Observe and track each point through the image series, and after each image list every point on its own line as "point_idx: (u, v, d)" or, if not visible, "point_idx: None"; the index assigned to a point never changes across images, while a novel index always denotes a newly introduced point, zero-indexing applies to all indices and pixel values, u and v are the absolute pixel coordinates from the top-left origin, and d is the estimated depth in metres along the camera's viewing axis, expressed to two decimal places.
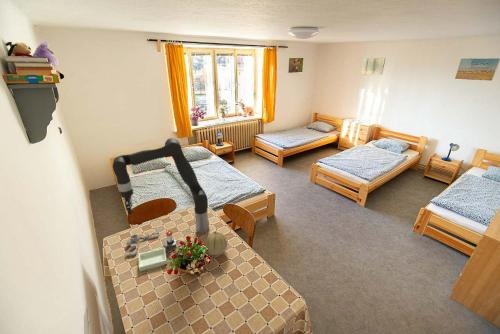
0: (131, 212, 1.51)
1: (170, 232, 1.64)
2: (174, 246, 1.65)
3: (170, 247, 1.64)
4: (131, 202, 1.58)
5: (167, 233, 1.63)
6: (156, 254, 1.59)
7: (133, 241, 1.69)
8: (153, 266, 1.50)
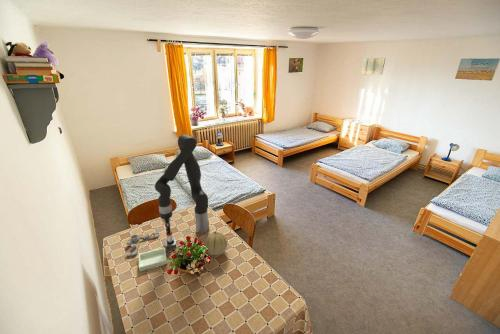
0: (170, 233, 1.58)
1: (170, 232, 1.64)
2: (174, 246, 1.65)
3: (170, 247, 1.64)
4: None
5: None
6: (156, 254, 1.59)
7: (133, 241, 1.69)
8: (153, 266, 1.50)
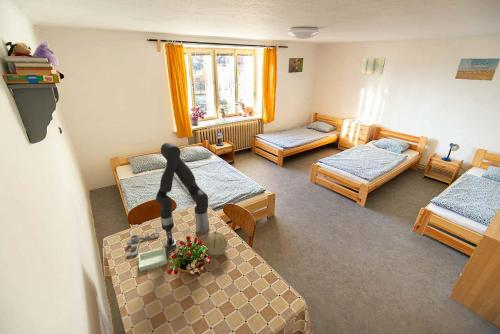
0: (171, 242, 1.64)
1: None
2: (174, 246, 1.65)
3: (170, 247, 1.64)
4: None
5: None
6: (156, 254, 1.59)
7: (133, 241, 1.69)
8: (153, 266, 1.50)
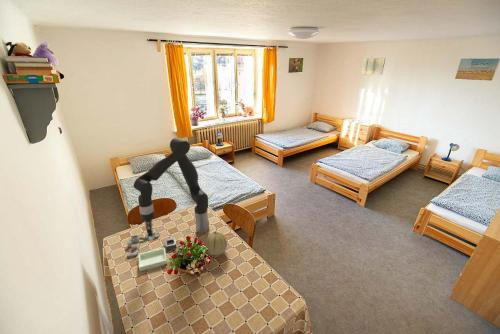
0: (151, 234, 1.47)
1: None
2: (174, 246, 1.65)
3: (170, 247, 1.64)
4: None
5: None
6: (156, 254, 1.59)
7: (133, 242, 1.69)
8: (153, 266, 1.50)
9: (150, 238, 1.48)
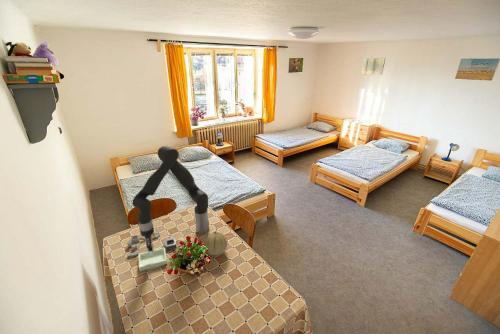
0: None
1: None
2: (174, 246, 1.65)
3: (170, 247, 1.64)
4: None
5: None
6: (156, 254, 1.59)
7: (134, 242, 1.68)
8: (153, 266, 1.50)
9: (150, 253, 1.50)
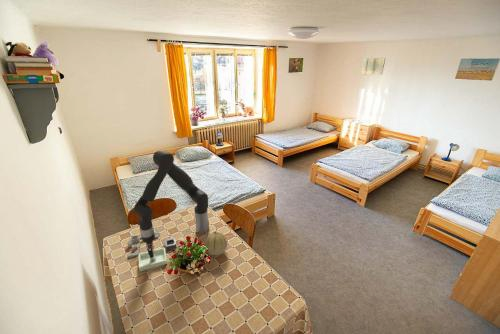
0: (153, 256, 1.50)
1: None
2: (174, 246, 1.65)
3: (170, 247, 1.64)
4: None
5: None
6: (156, 254, 1.59)
7: (134, 242, 1.68)
8: (153, 266, 1.50)
9: (152, 260, 1.53)
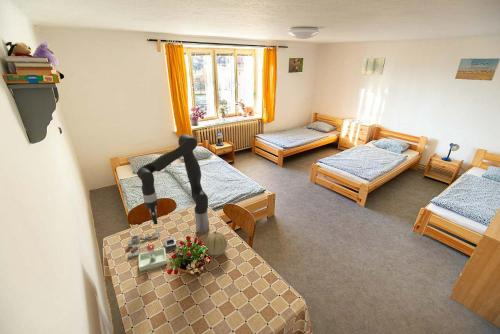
0: None
1: (152, 246, 1.51)
2: (174, 246, 1.65)
3: (170, 247, 1.64)
4: None
5: (148, 247, 1.50)
6: (156, 254, 1.59)
7: (134, 242, 1.68)
8: (153, 266, 1.50)
9: (152, 260, 1.53)
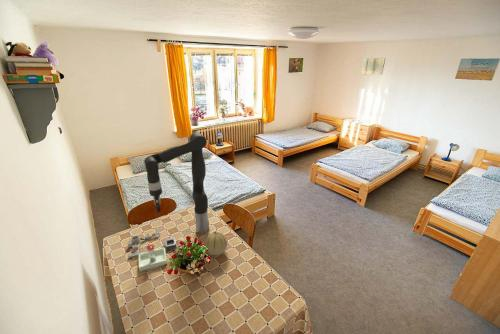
0: (160, 210, 1.55)
1: (152, 246, 1.51)
2: (174, 246, 1.65)
3: (170, 247, 1.64)
4: None
5: (148, 247, 1.50)
6: (156, 254, 1.59)
7: (134, 242, 1.68)
8: (153, 266, 1.50)
9: (152, 260, 1.53)
